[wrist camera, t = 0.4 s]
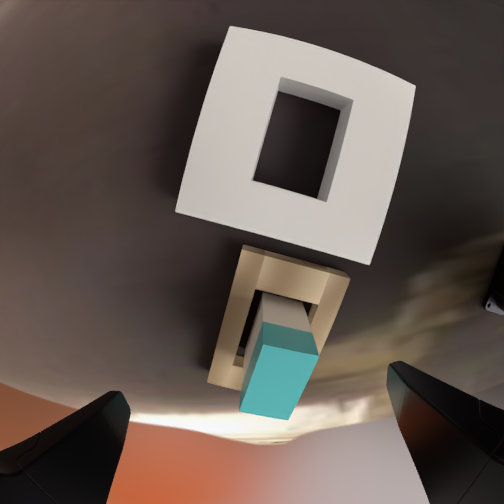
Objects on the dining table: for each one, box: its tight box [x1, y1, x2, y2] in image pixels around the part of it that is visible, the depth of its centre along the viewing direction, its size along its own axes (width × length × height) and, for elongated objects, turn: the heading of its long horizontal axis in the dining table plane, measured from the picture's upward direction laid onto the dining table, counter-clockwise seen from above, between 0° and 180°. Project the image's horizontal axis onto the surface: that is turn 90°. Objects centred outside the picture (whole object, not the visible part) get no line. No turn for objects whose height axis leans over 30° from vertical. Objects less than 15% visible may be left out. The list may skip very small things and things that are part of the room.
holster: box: [207, 244, 350, 391], centre depth 21 cm, size 7×11×2 cm
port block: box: [175, 26, 416, 265], centre depth 17 cm, size 12×12×3 cm
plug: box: [239, 292, 319, 420], centre depth 18 cm, size 3×5×7 cm, turn 165°
